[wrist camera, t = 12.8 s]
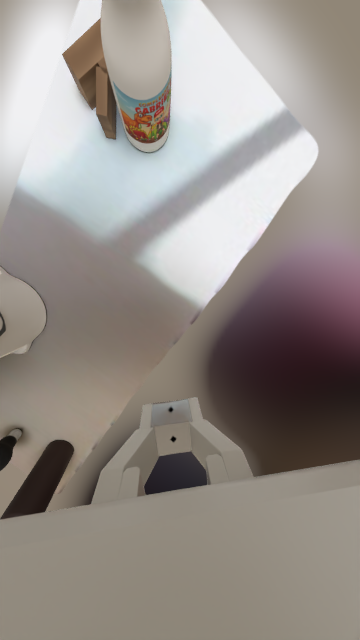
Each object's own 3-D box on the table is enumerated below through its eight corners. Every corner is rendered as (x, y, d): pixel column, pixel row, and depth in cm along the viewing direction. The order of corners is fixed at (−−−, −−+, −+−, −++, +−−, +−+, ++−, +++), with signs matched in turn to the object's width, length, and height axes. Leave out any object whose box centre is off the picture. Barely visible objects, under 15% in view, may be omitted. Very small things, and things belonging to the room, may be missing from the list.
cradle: (171, 91, 30) (173, 58, 25) (110, 143, 31) (101, 121, 27) (140, 33, 28) (136, -16, 23) (76, 91, 29) (59, 56, 24)
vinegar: (62, 435, 47) (-7, 550, 28) (79, 451, 49) (26, 569, 30) (41, 447, 48) (-41, 568, 28) (59, 462, 50) (-7, 585, 30)
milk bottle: (114, 128, 31) (34, -99, 12) (142, 84, 30) (102, -250, 10) (150, 165, 33) (133, 20, 14) (178, 125, 31) (201, -95, 12)
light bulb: (15, 442, 46) (-24, 487, 37) (1, 425, 45) (-44, 468, 35) (36, 434, 46) (3, 478, 37) (23, 417, 45) (-15, 458, 35)
